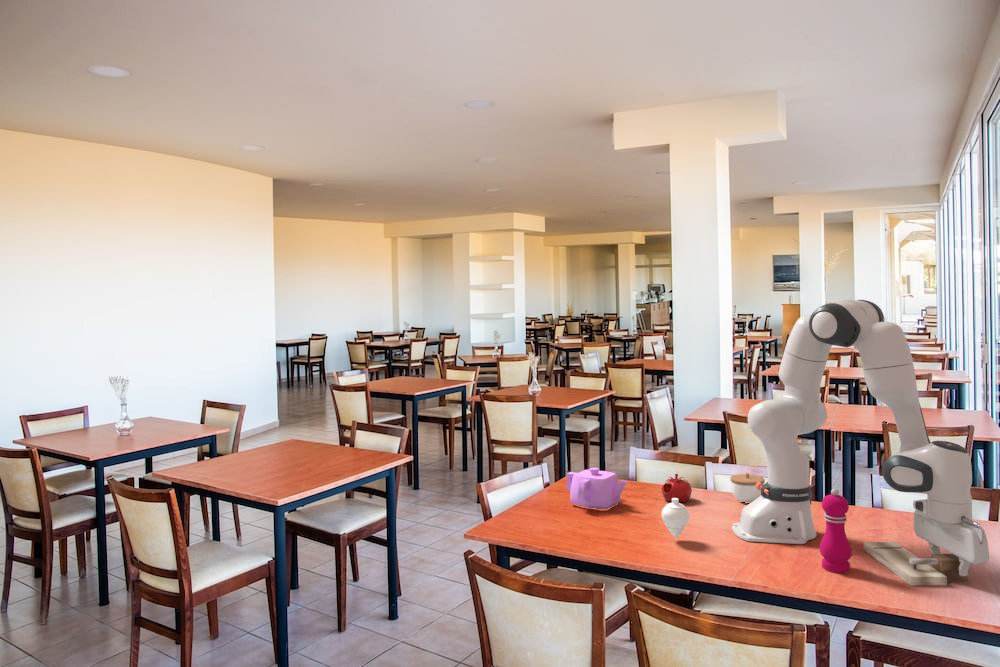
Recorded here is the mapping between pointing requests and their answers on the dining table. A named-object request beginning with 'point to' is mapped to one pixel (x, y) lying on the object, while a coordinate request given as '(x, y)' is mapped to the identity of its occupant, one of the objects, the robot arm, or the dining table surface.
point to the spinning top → (675, 517)
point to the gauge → (942, 565)
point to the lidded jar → (746, 486)
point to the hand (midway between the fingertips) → (949, 568)
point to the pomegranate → (676, 489)
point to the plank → (904, 564)
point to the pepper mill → (835, 534)
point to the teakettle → (594, 488)
